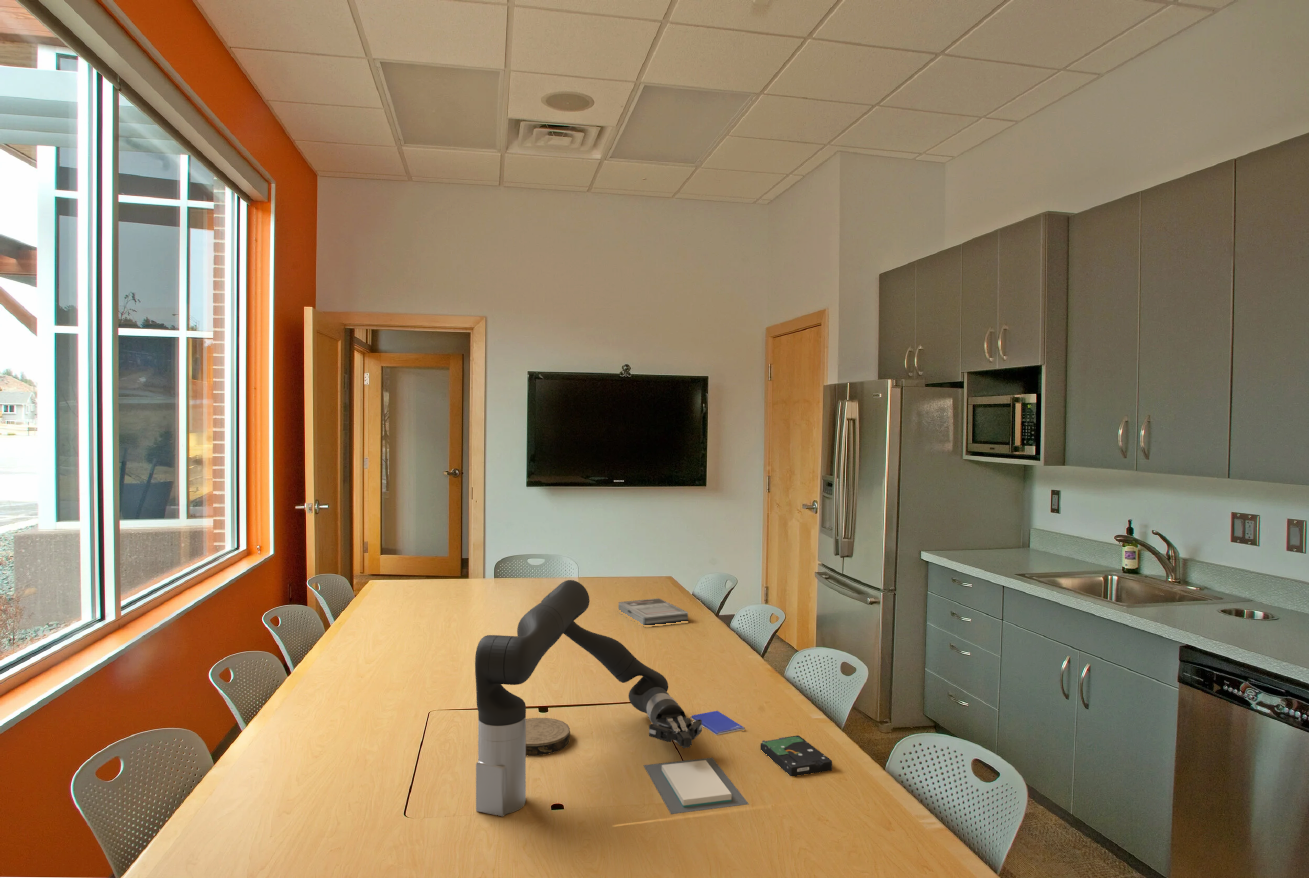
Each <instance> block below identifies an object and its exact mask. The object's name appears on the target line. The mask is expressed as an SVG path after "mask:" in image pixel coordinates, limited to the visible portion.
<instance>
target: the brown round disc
mask: <svg viewBox="0 0 1309 878" xmlns="http://www.w3.org/2000/svg"><path fill="white" fill-rule="evenodd" d="M570 740H571V728H570V726H569V724H568V723H567V722H565V721H563V720H559V719H557V718H552V717H531V718H526V756H527V755H528V757H529V756H533V757H538V756H544V755H543V754H546V755H550V754H554V753H557V752H559V751H561V750H563V749H565V748H566V747H567V746H568V745H569V743H570ZM553 752H554V753H553ZM549 753H550V754H549Z"/></svg>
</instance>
